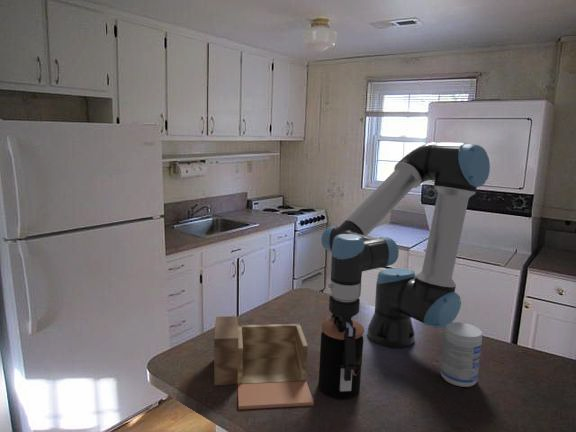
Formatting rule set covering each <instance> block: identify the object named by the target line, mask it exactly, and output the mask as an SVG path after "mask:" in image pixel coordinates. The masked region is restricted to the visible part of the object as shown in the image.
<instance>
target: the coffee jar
mask: <svg viewBox="0 0 576 432" xmlns="http://www.w3.org/2000/svg"><path fill="white" fill-rule="evenodd" d="M351 320H352V321H353V327H355V328H356V336H355V342H356V370H353V371H352V385H351V391H340V376H341V369H340V366H341V365H343V363H342V352H343V350H344V332H339V331H338V328H337V327H336V324H334V322H333V321H334V319H333V318H332V319H331V318H329V319H326V320H324V321H323V322H322V324H321V331H322V332H321V334H320V349H319V351H320V352H319V368H318V389H319V390H320V392H321V393H322V394H323V395H324V396H327V397H328V398H331V399H335V400H342V401H343V400H350V399H353V398H355V397H356V396H357V395H358V394H359V392H360V390H361V380H362V379H361V376H362V375H361V373H362V362H363V350H364V336H363V335H364V332H365V328H364V326H363V325H362V324H361V323H360V322H358V321H356V320H354V319H351Z"/></svg>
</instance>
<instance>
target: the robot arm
mask: <svg viewBox="0 0 576 432" xmlns="http://www.w3.org/2000/svg"><path fill="white" fill-rule="evenodd" d="M490 166H491V163H490V158H489V156H488V153H487V151H486V149H485V148H484V147H483V146H481V145H480V144H474V143H467V142H441V141H440V142H439V141H432V142H428V143H425V144H423V145H421V146H418V147H417V148H414V149H413V150H411V151H410V152H408V153H407V154H406V155H405V156H404V157H402V159H400V160H399V161H398V162H397V163H396V164H395V165H394V168H393V172H391V174H390V175H389V176H388V177H387V178H386V179H385V180H384V181H383V182H382V183H381V184H380V185H379V186H378V187H377V188H376V189H375V190H374V191H373V192H372V193H371V194H370V195H369V196H368V197H367V198H366V199H365V200H364V201H363V202H362V203H361V204H360V205H359V206H358V207H357V208H355V210H354V211H353V212H352V213H351V214H349V216H348V217H347V218H346V219H345V220H344V221H343V222H342V223H341V224H340V225H339V226H337V225H335V226H334V225H333V226H332V225H331V226H328V227H327V228H325V230H324V231H323V233H322V235H321V245H322V247H323V248H324V249H325V251H327V252H330V253H331V260H330V262H331V265H330V283H329V284H327V285H328V286H327V287H328V288H329V295H330V296H329V299H328V311H329V312H330V313H331V316H330V319H332V318H333V319H334V321H333V322H334V324H336V327H337V328H338V331H339V332H344V350H343V352H342V363H343V365H341V366H340V369H341V376H340V391H351V385H352V371H353V370H356V342H355V336H356V328H355V327H353V321H352V320H353V319H352V318H353V317H354V316H357V315H358V314H359V312H360V302H361V301H360V297H361V293H362V292H361V291H362V278H363V277H362V274H363V272H367V271H369V270H376V269H380V268H381V269H382V268H386V267H388V266H391V265H393V264H395V263H396V262H397V261H398V259H399V250H400V249H399V247H398V245H397V242H396V241H395V240H394V239H393V238H390V237H387V236H386V237H382V236H380V237H378V238H377V237H376V238H375V237H372V236H369V234H370V233H371V232H372V231H373V230H374V229H375V228H376V227H377V226H378V225H379V224H380V223H381V222H382V221H383V220H384V218H386V216H388V214H390V213H391V211H392V210H393V209H394V208H395V207H396V206H397V205H398V204H399V203H400V202H401V201H402V200H403V199H404V198H405V196H406V195H408V193H409V192H410V191H411V190H412V189H415V188H418V187H420V186H421V185H422V184H423V183H424V182H427V181H433V182H434V183H433V188H434V189H435V191H436V192H437V196H436V200H435V205H434V211H433V216H432V221H431V225H430V230H429V235H428V240H427V244H426V245H427V246H426V250H425V255H424V260H423V264H422V270H421V271H420V272H419V273H417V274H416V272H415V271H414V270H411V269H408V268H399V267H397V268H395V267H394V268H386V269H382V270H380V271H379V272H378V274H377V277H376V278H377V279H376V287H375V300H374V301H375V303H374V313H373V315H372V317H371V320H370V322H369V324H368V327H367V337H368V338H369V340H371V341H373V343H375V344H378V345H380V346H384V347H388V348H393V349H394V348H395V349H396V348H397V349H399V348H407V347H410V346H411V345H413V344H414V342H415V336H416V335H415V334H416V333H415V330H414V325H413V322H412V319H413V320H416V321H418V322H420V323H422V324H424V325H425V326H427V327H432V328H434V329H437V330H438V329H439V330H440V329H446V325H447V324H449V323H454V321H455V319H456V318H457V317H458V314H459V312H460V310H461V306H462V300H461V296H460V295H459V294H458V293H457V292H456V288H457V287H456V286H457V284H456V282H455V281H454V279H453V274H454V270H455V265H456V261H457V260H456V259H457V257H458V251H459V245H460V241H461V237H462V233H463V228H464V224H465V223H464V222H465V219H466V213H467V208H468V203H469V200H470V197H472V196H474V195H475V194H476V193H477V188H480V187H481V186H484V185H485V183H486V182H487V181H488V179H489V176H490V170H491V169H490V168H491V167H490Z"/></svg>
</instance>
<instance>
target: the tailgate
mask: <svg viewBox="0 0 576 432" xmlns="http://www.w3.org/2000/svg"><path fill="white" fill-rule="evenodd" d="M237 397H238V399H237V401H238V410H249V409H251V410H252V409H267V408H269V409H270V408H287V407H304V406H306V407H307V406H314V403H315V402H314V399H313V395H312V393H311V391H310V388H309V385H308V383H307V380H306V381H289V382H268V383H247V384H237Z"/></svg>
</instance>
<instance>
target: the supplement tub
mask: <svg viewBox="0 0 576 432" xmlns="http://www.w3.org/2000/svg"><path fill="white" fill-rule="evenodd" d="M443 337H444V338H443V347H442V355H441V356H442V357H441V365H440V375H441V377H442V378H443V380H445V381H446V382H447V383H448V384H451V385H454V386H455V387H456V386H458V387H461V388H462V387H464V388H469V387H473V386H474V385H476V384H477V381H478V375H479V369H480V359H481V353H482V344H483V331H482V330H481V329H480V328H479V327H477V326H476V325H472V324H469V323H465V322H457V321H456V322H454V321H453V322H452V323H449V324H447V325H446V327H445V330H444V336H443Z"/></svg>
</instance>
